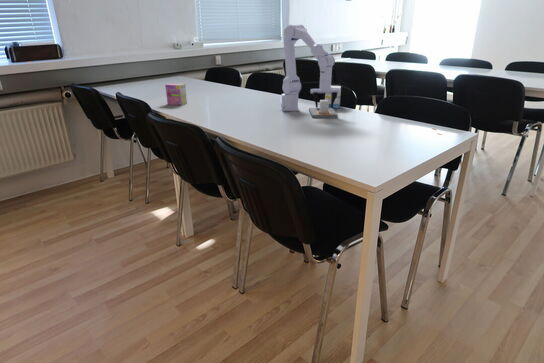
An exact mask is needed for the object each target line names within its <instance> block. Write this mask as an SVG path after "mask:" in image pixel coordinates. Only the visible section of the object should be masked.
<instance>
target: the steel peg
mask: <svg viewBox="0 0 544 363" xmlns="http://www.w3.org/2000/svg"><path fill="white" fill-rule="evenodd" d="M319 108H320V112H319V114H328V108H329V101H328V100H325V99H320V100H319Z"/></svg>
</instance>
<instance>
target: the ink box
mask: <svg viewBox="0 0 544 363" xmlns="http://www.w3.org/2000/svg"><path fill="white" fill-rule="evenodd" d="M331 89H339V90H340V91H339V93H337V97H336V99H335V101H334V103H333V107H332V108H333V109H337V110H338V109H340V106H341V93H342V92H341V91H342V86H341V85H331ZM324 94H325V95H324V100H328V101H329V108H331V93H324Z"/></svg>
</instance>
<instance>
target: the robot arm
mask: <svg viewBox="0 0 544 363" xmlns="http://www.w3.org/2000/svg"><path fill="white" fill-rule="evenodd" d="M283 34H284V35H283V36H284V37H283V49H284V50H283V51H284V62H285V75H286V76H285V77H284V78H283V79H282V81H283V82H282V87H281V88H282V91H283V93H281V103H280V108H281V111H282V112H283V111H285V112H287V111H288V112H293V111H294V112H298V111H299V112H300V109H299V108H300V107H299V94H300V92H301V90H302V83H301V80H300V76H298V75H297V64H296V54H295V44H296V43H297V42H298V41H299V40H302V41H303V43H304V44H306V46H308V47H309V49H310V53H311V55H312V56H313V57H314V58H315V59H316V60H317V63H318V67H319V71H320V72H319V75H320V76H319V88H310V94H311V95H312V96H313V99H314V103H315V108H319V107H318V106H319V105H318V103H319V94H325V93H331V108H332V107H333V103H334V101H335V99H336V97H337V93H339V91H340V90H339V89H331V86H332V74H333V73H332V72H333V66H334V65H335V63H336V60H335V57H334V55H332V54H329V52H328V51H326V49H324V47H323V45H322V44H319V43H316V42H315V41H314V39H313V38H312V36H311V35H310V33H308V30H307V28H306V27H305V26H304V25H303V24H288V25H286V26H285V28H284V29H283Z"/></svg>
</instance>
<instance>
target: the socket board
mask: <svg viewBox="0 0 544 363" xmlns="http://www.w3.org/2000/svg"><path fill="white" fill-rule="evenodd" d="M308 112H309V114H310V116H311V119H338V117H339V116H338V113H337V112H336V111H335V108H328V114H319V112H320V107H318V108H316V107H309V108H308Z"/></svg>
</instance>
